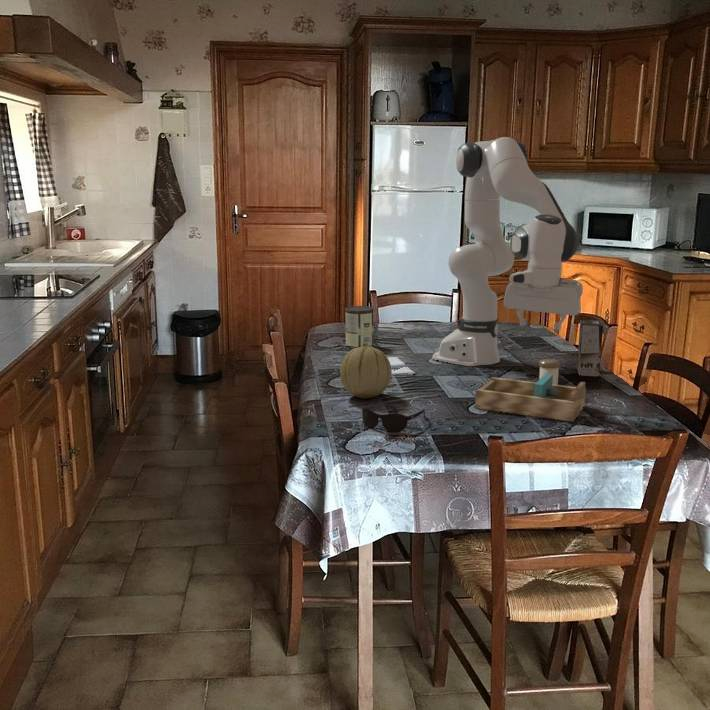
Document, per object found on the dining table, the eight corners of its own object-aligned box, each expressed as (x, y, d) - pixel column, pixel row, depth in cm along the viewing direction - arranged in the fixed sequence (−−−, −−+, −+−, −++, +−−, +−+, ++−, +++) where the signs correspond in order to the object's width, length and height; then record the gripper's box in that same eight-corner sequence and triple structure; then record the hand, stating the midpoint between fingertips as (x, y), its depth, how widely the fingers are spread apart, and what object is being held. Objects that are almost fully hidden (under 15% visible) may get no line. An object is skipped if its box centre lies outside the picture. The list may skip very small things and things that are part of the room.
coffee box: (600, 376, 242) (603, 325, 239) (578, 375, 244) (581, 324, 240) (597, 369, 251) (600, 320, 247) (576, 368, 252) (579, 319, 248)
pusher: (533, 409, 206) (534, 384, 204) (544, 398, 216) (545, 373, 214) (552, 412, 204) (554, 386, 202) (562, 400, 214) (564, 375, 212)
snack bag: (399, 361, 264) (399, 355, 264) (416, 377, 245) (416, 370, 244) (343, 365, 260) (343, 358, 260) (356, 380, 241) (356, 374, 240)
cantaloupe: (352, 407, 213) (352, 353, 209) (332, 393, 226) (331, 342, 222) (401, 400, 218) (401, 348, 215) (378, 387, 231) (378, 337, 228)
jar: (535, 393, 224) (537, 362, 222) (540, 389, 229) (542, 358, 227) (555, 396, 222) (557, 364, 220) (559, 391, 227) (561, 360, 225)
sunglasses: (356, 426, 198) (356, 407, 197) (387, 410, 211) (387, 392, 209) (403, 436, 191) (403, 416, 189) (433, 419, 203) (433, 400, 202)
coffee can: (355, 342, 291) (355, 304, 287) (379, 345, 285) (379, 307, 282) (339, 347, 282) (339, 309, 279) (364, 351, 277) (364, 311, 274)
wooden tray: (475, 408, 212) (476, 383, 210) (491, 394, 224) (492, 370, 223) (573, 421, 200) (574, 395, 198) (584, 406, 213) (586, 381, 211)
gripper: (586, 279, 207) (581, 330, 211) (510, 272, 216) (507, 321, 220) (580, 282, 202) (576, 334, 205) (503, 275, 211) (500, 325, 215)
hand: (540, 327), depth 213 cm, fingers open, 8 cm apart
